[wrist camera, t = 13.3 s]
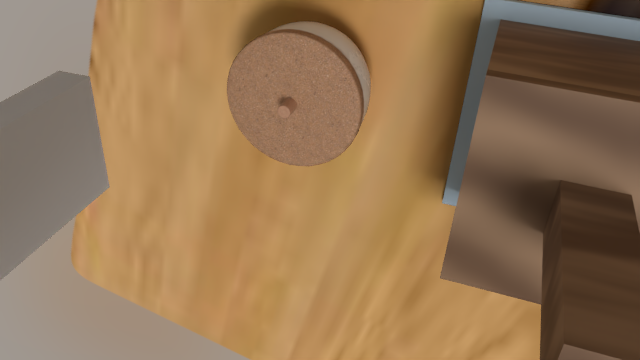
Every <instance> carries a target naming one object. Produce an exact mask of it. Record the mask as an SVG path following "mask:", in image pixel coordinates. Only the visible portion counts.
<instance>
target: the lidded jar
mask: <svg viewBox="0 0 640 360" xmlns="http://www.w3.org/2000/svg"><path fill="white" fill-rule="evenodd" d="M370 90H371V81H370V74H369V70H368V67H367V64H366V62H365V59H364V57H363V55H362V53H361V52H360V50H359V49H358V47H357V46H356V45H355V44H354V43H353V41H352V40H351V39H350V38H348V37H347V36H346V35H345V34H344V33H342V32H340V31H339V30H337V29H335V28H333V27H331V26H328V25H326V24H322V23H318V22H311V21H302V22H292V23H288V24H285V25H282V26H279V27H277V28H274V29H272V30H270V31H268V32H267V33H265V34H263V35H261V36H259V37H257V38H255V39H254V40H253V41H251V42H250V43H248V44H247V45H246V46H245V47H244V48H243V49H242V50H241V51H240V52H239V53H238V55H237V56H236V58H235V60H234V61H233V64H232V66H231V68H230V71H229V76H228V82H227V95H228V102H229V106H230V110H231V113H232V115H233V118H234V120H235V122H236V124H237V126H238V127H239V129H240V131H241V132H242V133H243V134H244V136H245V137H246V138H247V139H248V140H249V141H250V143H251V144H252V145H253V146H255V147H256V148H257V149H258V150H260V151H261V152H263V153H264V154H266V155H267V156H269V157H271V158H273V159H275V160H277V161H280V162H283V163H286V164H290V165H296V166H313V165H319V164H322V163H326V162H328V161H330V160H332V159H334V158H336V157H338V156H339V155H340V154H341V153H343V152H344V151H345V150H346V149H347V148H348V147H349V145H350V144H351V143H352V141H353V140H354V138H355V136H356V135H357V133H358V131H359V128H360V126H361V124H362V122H363V120H364V117H365V115H366V112H367V109H368V105H369V100H370Z"/></svg>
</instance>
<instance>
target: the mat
mask: <svg viewBox="0 0 640 360" xmlns="http://www.w3.org/2000/svg"><path fill="white" fill-rule="evenodd" d="M501 19H502V20H509V21H515V22H521V23H528V24H534V25H540V26H547V27H553V28H559V29H566V30H572V31H578V32H585V33H591V34H597V35H604V36H610V37H616V38H623V39H629V40H635V41H640V19H638V18H631V17H625V16H618V15H611V14H605V13H598V12H591V11H585V10H578V9H571V8H565V7H558V6H551V5H545V4H538V3H531V2H525V1H518V0H485V3H484V8H483V12H482V17H481V22H480V27H479V31H478V36H477V41H476V46H475V50H474V55H473V60H472V64H471V69H470V74H469V79H468V83H467V88H466V93H465V98H464V102H463V107H462V112H461V116H460V121H459V126H458V131H457V135H456V140H455V145H454V150H453V154H452V159H451V164H450V168H449V173H448V178H447V183H446V187H445V192H444V197H443V202H442V203H444V204H449V205H453V206H456V205H457V201H458V196H459V192H460V187H461V183H462V179H463V174H464V170H465V165H466V161H467V156H468V152H469V148H470V143H471V139H472V134H473V130H474V126H475V121H476V117H477V112H478V108H479V104H480V99H481V95H482V90H483V86H484V82H485V77H486V73H487V69H488V65H489V62H490V58H491V54H492V50H493V46H494V43H495V39H496V35H497V31H498V27H499V24H500V20H501Z"/></svg>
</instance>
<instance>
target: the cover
mask: <svg viewBox="0 0 640 360" xmlns="http://www.w3.org/2000/svg"><path fill="white" fill-rule="evenodd" d="M440 278H441V279H445V280H449V281H453V282H457V283H461V284H464V285H468V286H472V287H476V288H480V289H484V290H487V291H491V292H495V293H499V294H503V295H507V296H511V297H514V298H518V299H522V300H526V301H530V302H534V303H537V304H541V340H540V360H640V41H635V40H629V39H623V38H616V37H610V36H604V35H597V34H591V33H585V32H578V31H572V30H566V29H559V28H553V27H547V26H540V25H534V24H528V23H521V22H515V21H509V20H502V19H501V20H500V24H499V27H498V31H497V35H496V39H495V43H494V46H493V50H492V54H491V58H490V62H489V65H488V69H487V73H486V77H485V82H484V86H483V90H482V95H481V99H480V104H479V108H478V112H477V117H476V121H475V126H474V130H473V134H472V139H471V143H470V148H469V152H468V156H467V161H466V165H465V170H464V174H463V179H462V183H461V187H460V192H459V196H458V201H457V205H456V209H455V214H454V218H453V223H452V227H451V231H450V236H449V240H448V245H447V249H446V254H445V258H444V262H443V267H442V271H441V276H440Z"/></svg>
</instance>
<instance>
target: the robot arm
mask: <svg viewBox="0 0 640 360" xmlns="http://www.w3.org/2000/svg"><path fill="white" fill-rule="evenodd" d="M108 188H109V182H108V176H107V170H106V165H105V159H104V154H103V148H102V143H101V137H100V132H99V126H98V121H97V115H96V109H95V104H94V98H93V93H92V87H91V82H90V77H89V76H84V75H79V74H73V73H68V72H62V71H58V72H56V73H54V74H52V75H50V76H48V77H47V78H45V79H43V80H41V81H39V82H37V83H35V84H33V85H32V86H30V87H28V88H26V89H24V90H22V91H20V92H19V93H17V94H15V95H13V96H11V97H9V98H8V99H6V100H4V101H2V102H0V280H1V279H3V278H4V277H5V276H6V275H7V274H8V273H9V272H11V271H12V270H13V269H14V268H15V267H17V266H18V265H19V264H20V263H21V262H22V261H24V260H25V259H26V258H27V257H28V256H29V255H31V254H32V253H33V252H34V251H35V250H36V249H37V248H39V247H40V246H41V245H42V244H43V243H45V242H46V241H47V240H48V239H49V238H50V237H52V235H54V234H55V233H56V232H57V231H59V230H60V229H61V228H62V227H63V226H64V225H66V224H67V223H68V222H69V221H70V220H71V219H73V218H74V217H75V216H76V215H77V214H78V213H80V212H81V211H82V210H83V209H84V208H85V207H87V206H88V205H89V204H90V203H91V202H92V201H94V200H95V199H96V198H97V197H98V196H99V195H101V194H102V193H103V192H104V191H105V190H106V189H108Z"/></svg>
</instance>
